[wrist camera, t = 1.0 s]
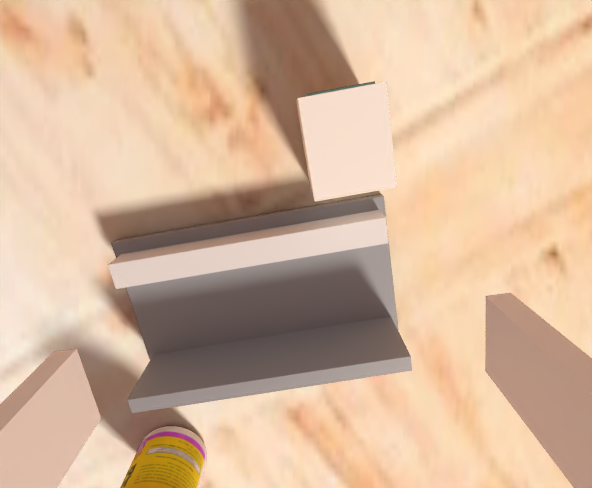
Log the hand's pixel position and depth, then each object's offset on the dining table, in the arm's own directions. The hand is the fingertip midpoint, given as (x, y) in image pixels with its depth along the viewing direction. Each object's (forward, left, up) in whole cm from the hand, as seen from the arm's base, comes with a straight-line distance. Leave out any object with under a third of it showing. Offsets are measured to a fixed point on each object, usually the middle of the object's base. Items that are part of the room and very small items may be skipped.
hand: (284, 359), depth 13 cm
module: (-5, +5, -21) cm, 22 cm away
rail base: (+6, -3, -21) cm, 22 cm away
